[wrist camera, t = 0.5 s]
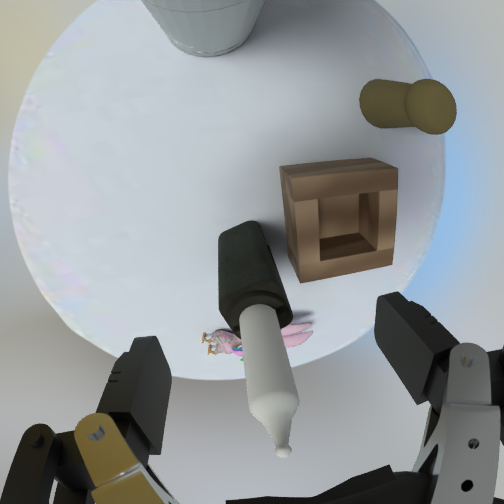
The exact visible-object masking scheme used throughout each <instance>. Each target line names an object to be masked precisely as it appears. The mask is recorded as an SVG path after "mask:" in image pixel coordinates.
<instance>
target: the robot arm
mask: <svg viewBox="0 0 504 504" xmlns="http://www.w3.org/2000/svg"><path fill="white" fill-rule="evenodd" d="M141 1H142V2H143V3H144V5H145V6H146V7H147V9H148V10H149V11H150V13H151V14H152V16H153V17H154V18H155V20H156V21H157V22H158V24H159V25H160V27H161V28H162V29H163V31H164V32H165V34H166V35H167V36H168V38H169V39H170V40H171V42H172V43H173V44H174V45H175V46H176V47H177V48H179V49H180V50H182V51H184V52H186V53H188V54H191V55H195V56H202V57H210V56H218V55H222V54H225V53H228V52H230V51H232V50H234V49H236V48H237V47H239V46H240V45H241V44H242V43H243V42H244V41H245V40H246V39H247V38H248V37H249V35H250V33H251V32H252V30H253V27H254V25H255V22H256V20H257V18H258V16H259V13H260V11H261V9H262V6H263V4H264V2H265V0H141ZM374 333H375V339H376V343H377V345H378V346H379V348H380V349H381V351H382V352H383V354H384V355H385V357H386V358H387V360H388V361H389V363H390V364H391V366H392V367H393V369H394V370H395V372H396V373H397V375H398V376H399V378H400V379H401V381H402V382H403V384H404V385H405V387H406V389H407V390H408V392H409V393H410V395H411V396H412V398H413V399H414V401H415V403H416V404H417V405H419V404H421V403H423V402H426V401H429V402H430V404H431V406H430V408H429V412H428V417H427V422H426V427H425V431H424V436H423V440H422V444H421V449H420V452H419V455H418V458H417V460H416V462H415V464H414V467H413V469H412V472H408V471H403V472H393V471H392V469H391V467H390V465H387V466H384V467H381V468H379V469H376V470H373V471H370V472H368V473H364V474H361V475H358V476H355V477H352V478H350V479H348V480H347V481H345V482H343V483H341V484H339V485H337V486H335V487H333V488H331V489H329V490H327V491H325V492H323V493H321V494H319V495H317V496H314V497H306V498H305V497H271V496H265V497H257V498H250V499H239V500H226V504H504V500H503V499H499V498H495V497H494V491H495V485H496V478H497V470H498V461H499V446H500V440H501V442H502V444H503V445H504V346H503V349H501V350H495V351H490V352H486V351H485V350H484V349H483V348H482V347H480V346H478V345H476V344H473V343H461V344H460V343H459V342H458V340H457V339H456V338H455V337H453V335H452V334H451V333H450V332H449V331H448V330H447V329H446V328H445V327H444V326H443V325H442V324H441V323H439V322H438V321H437V319H436V318H435V317H433V316H431V314H430V313H429V312H428V311H427V310H426V309H425V308H424V307H423V306H421V305H419V304H417V303H415V302H413V301H410V302H409V301H408V300H407V299H406V298H405V297H404V296H403V295H401V294H400V293H399V292H393V293H389V294H385V295H381V296H379V297H378V299H377V305H376V317H375V328H374ZM111 373H112V374H110V376H109V379H108V383H107V384H106V387H105V389H104V392H103V394H102V397H101V400H100V403H99V405H98V408H97V411H96V413H93V414H90V415H88V416H86V417H84V418H83V419H82V420H81V421H79V423H78V424H77V426H76V428H75V430H74V431H68V432H63V433H57V434H55V433H54V431H53V430H52V429H51V428H50V427H49V426H48V425H46V424H35V425H33V426H31V427H30V428H28V429H27V430H26V431H25V433H24V434H23V436H22V439H21V441H20V443H19V446H18V449H17V451H16V454H15V456H14V459H13V462H12V465H11V467H10V470H9V473H8V476H7V480H6V483H5V486H4V489H3V492H2V496H1V499H0V504H49V498H50V493H51V489H52V485H53V481H54V479H55V480H56V481H57V482H58V484H57V488H56V492H55V497H54V501H53V504H95V503H96V504H180V503H179V502H178V501H177V500H176V499H175V498H174V497H173V495H172V494H171V493H170V492H169V490H168V489H167V488H166V487H165V485H164V484H163V483H162V481H161V480H160V479H159V477H158V476H157V475H156V473H155V472H154V471H153V469H152V468H151V466H150V465H149V464H148V458H149V455H160V454H161V448H162V441H163V434H164V427H165V421H166V414H167V407H168V402H169V395H170V389H171V382H172V377H171V371H170V367H169V365H168V363H167V360H166V358H165V355H164V353H163V350H162V348H161V346H160V343H159V341H158V339H157V337H156V336H147V337H137V338H135V339H134V340H133V343H132V345H131V348H130V350H129V352H124V353H123V354H122V355H121V356H120V357H119V358H118V360H117V361H116V362H115V364H114V367H113V369H112V371H111Z"/></svg>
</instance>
